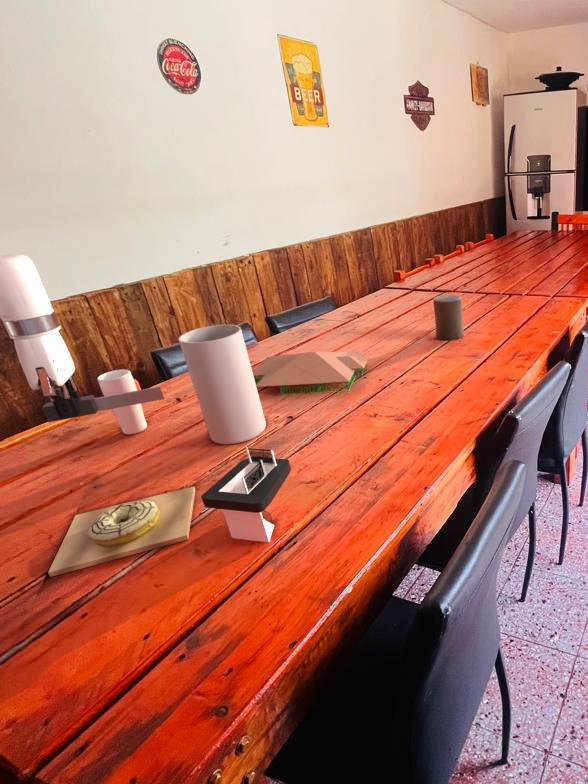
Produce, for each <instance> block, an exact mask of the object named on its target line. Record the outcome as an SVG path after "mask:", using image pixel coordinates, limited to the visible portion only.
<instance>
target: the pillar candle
mask: <svg viewBox="0 0 588 784" xmlns="http://www.w3.org/2000/svg"><path fill="white" fill-rule="evenodd" d="M432 300H433V309H434V323H435V334H436V338H437V339H438V340H441V341H456V340H459V339H462V338H463V337H464V336H465V330H464V316H463V302H462V296H461V295H460V294H447V293H446V294H441V295H437V296H434V297H433V299H432Z"/></svg>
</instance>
